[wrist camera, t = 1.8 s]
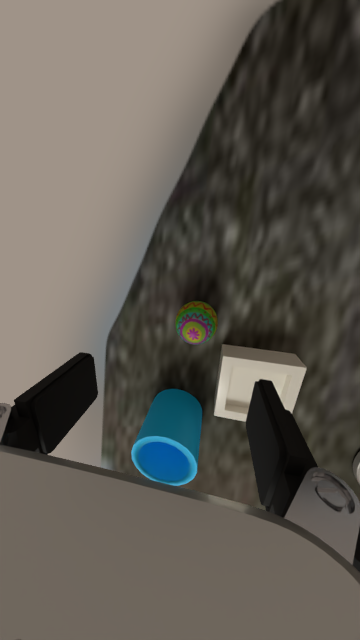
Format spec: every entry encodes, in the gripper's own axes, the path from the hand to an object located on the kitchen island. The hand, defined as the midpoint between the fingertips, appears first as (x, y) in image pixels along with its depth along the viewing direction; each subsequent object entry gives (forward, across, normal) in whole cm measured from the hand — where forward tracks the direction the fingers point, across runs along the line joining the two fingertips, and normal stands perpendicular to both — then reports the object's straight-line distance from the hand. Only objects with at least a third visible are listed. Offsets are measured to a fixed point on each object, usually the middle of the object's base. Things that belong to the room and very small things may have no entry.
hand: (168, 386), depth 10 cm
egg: (+15, -1, 0) cm, 15 cm away
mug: (+15, +2, +18) cm, 23 cm away
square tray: (+14, -9, +8) cm, 19 cm away
